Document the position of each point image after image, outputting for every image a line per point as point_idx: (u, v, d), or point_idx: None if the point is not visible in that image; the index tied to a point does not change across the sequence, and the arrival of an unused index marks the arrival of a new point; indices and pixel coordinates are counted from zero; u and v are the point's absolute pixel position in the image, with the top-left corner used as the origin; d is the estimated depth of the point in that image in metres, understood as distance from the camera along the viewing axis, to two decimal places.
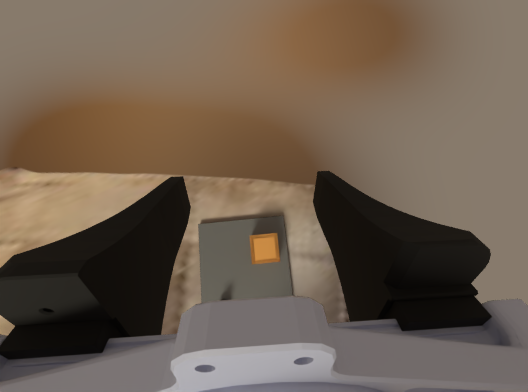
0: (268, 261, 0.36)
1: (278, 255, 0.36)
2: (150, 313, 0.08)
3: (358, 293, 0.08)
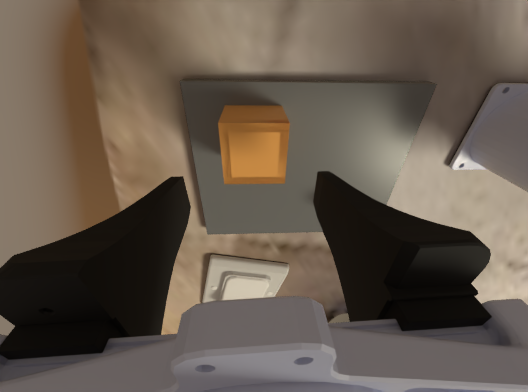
0: (284, 150, 0.16)
1: (274, 125, 0.15)
2: (150, 313, 0.08)
3: (358, 293, 0.08)
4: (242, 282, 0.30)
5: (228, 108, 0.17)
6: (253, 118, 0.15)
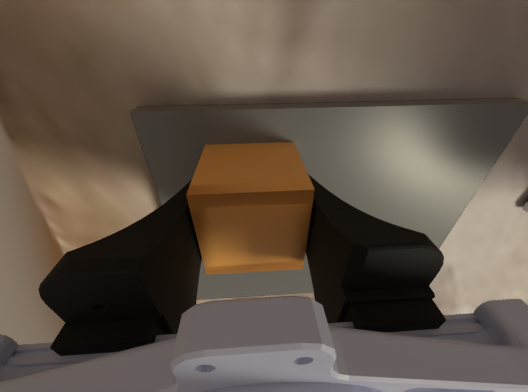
0: (304, 228, 0.09)
1: (287, 194, 0.08)
2: (186, 311, 0.08)
3: (324, 295, 0.08)
4: None
5: (210, 152, 0.11)
6: (249, 177, 0.09)
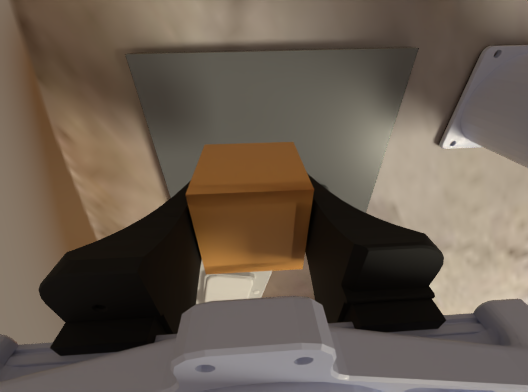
0: (303, 227, 0.09)
1: (287, 194, 0.08)
2: (186, 311, 0.08)
3: (324, 295, 0.08)
4: (223, 280, 0.28)
5: (209, 152, 0.11)
6: (249, 177, 0.09)
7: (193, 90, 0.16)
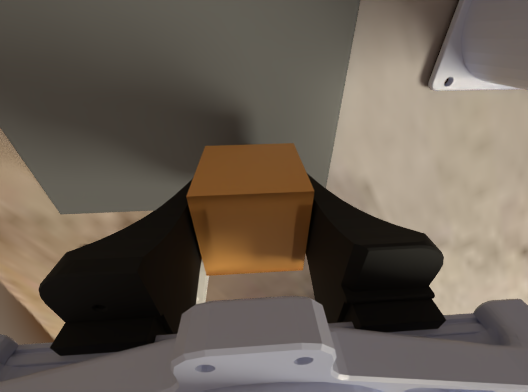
0: (304, 229, 0.09)
1: (287, 196, 0.08)
2: (186, 311, 0.08)
3: (324, 295, 0.08)
4: None
5: (210, 153, 0.11)
6: (249, 179, 0.09)
7: None
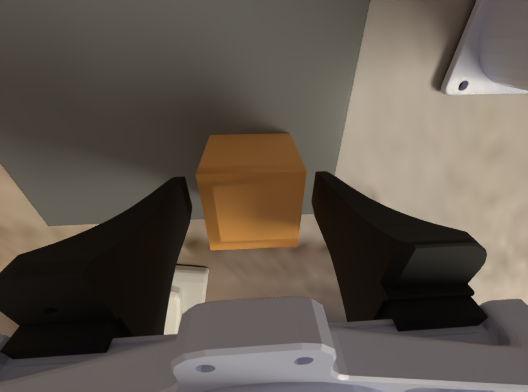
0: (298, 206, 0.11)
1: (283, 175, 0.09)
2: (153, 313, 0.08)
3: (355, 293, 0.08)
4: None
5: (214, 141, 0.12)
6: (250, 161, 0.10)
7: None
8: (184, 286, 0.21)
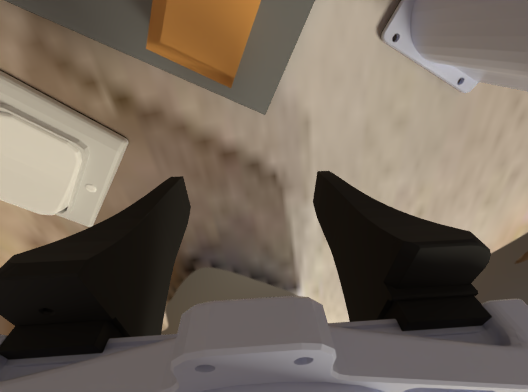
0: (245, 33, 0.11)
1: None
2: (150, 313, 0.08)
3: (358, 293, 0.08)
4: (23, 131, 0.17)
5: None
6: None
7: None
8: (93, 147, 0.19)
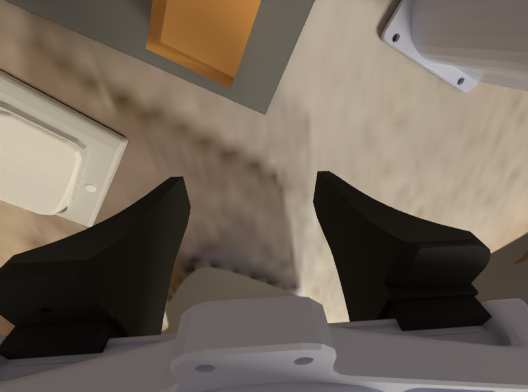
0: (245, 33, 0.11)
1: None
2: (150, 313, 0.08)
3: (358, 293, 0.08)
4: (22, 130, 0.17)
5: None
6: None
7: None
8: (92, 146, 0.19)
